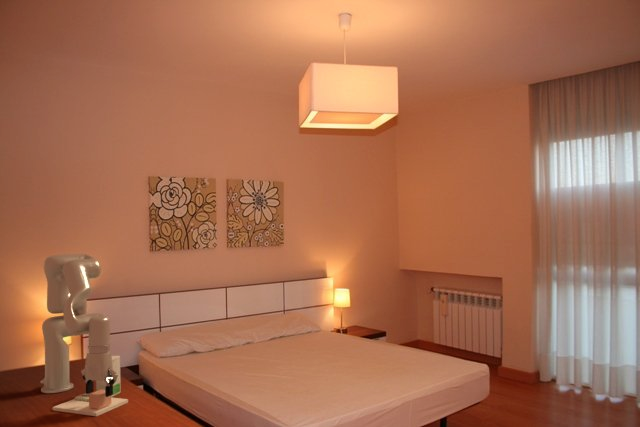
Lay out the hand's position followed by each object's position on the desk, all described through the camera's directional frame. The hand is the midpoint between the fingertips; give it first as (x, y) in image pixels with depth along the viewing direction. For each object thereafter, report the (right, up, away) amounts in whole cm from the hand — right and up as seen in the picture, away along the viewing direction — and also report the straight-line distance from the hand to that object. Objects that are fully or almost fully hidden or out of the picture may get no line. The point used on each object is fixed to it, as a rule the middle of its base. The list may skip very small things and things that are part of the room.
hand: (99, 394), depth 194 cm
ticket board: (-5, -6, +4) cm, 9 cm away
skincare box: (-4, -7, +17) cm, 19 cm away
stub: (+1, -4, -1) cm, 4 cm away
